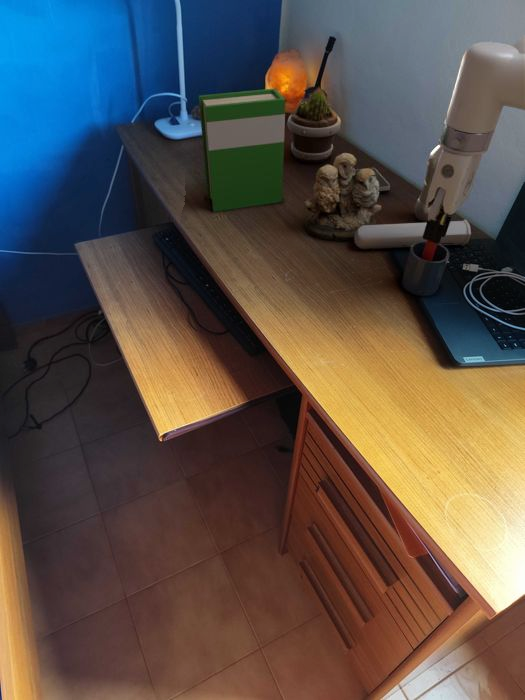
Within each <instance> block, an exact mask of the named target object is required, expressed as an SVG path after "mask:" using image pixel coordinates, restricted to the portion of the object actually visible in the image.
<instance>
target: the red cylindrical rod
mask: <svg viewBox="0 0 525 700" xmlns="http://www.w3.org/2000/svg"><path fill="white" fill-rule="evenodd" d="M439 213H440V214H442V215H443V212H440V211H439ZM436 246H437V244H436V243H433V242H431V241H428V240H427V241H426V245H425V248H424V251H423V254H422V258H421V259H423V260H426V261H432V258H433V255H434V252H435V249H436Z"/></svg>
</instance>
